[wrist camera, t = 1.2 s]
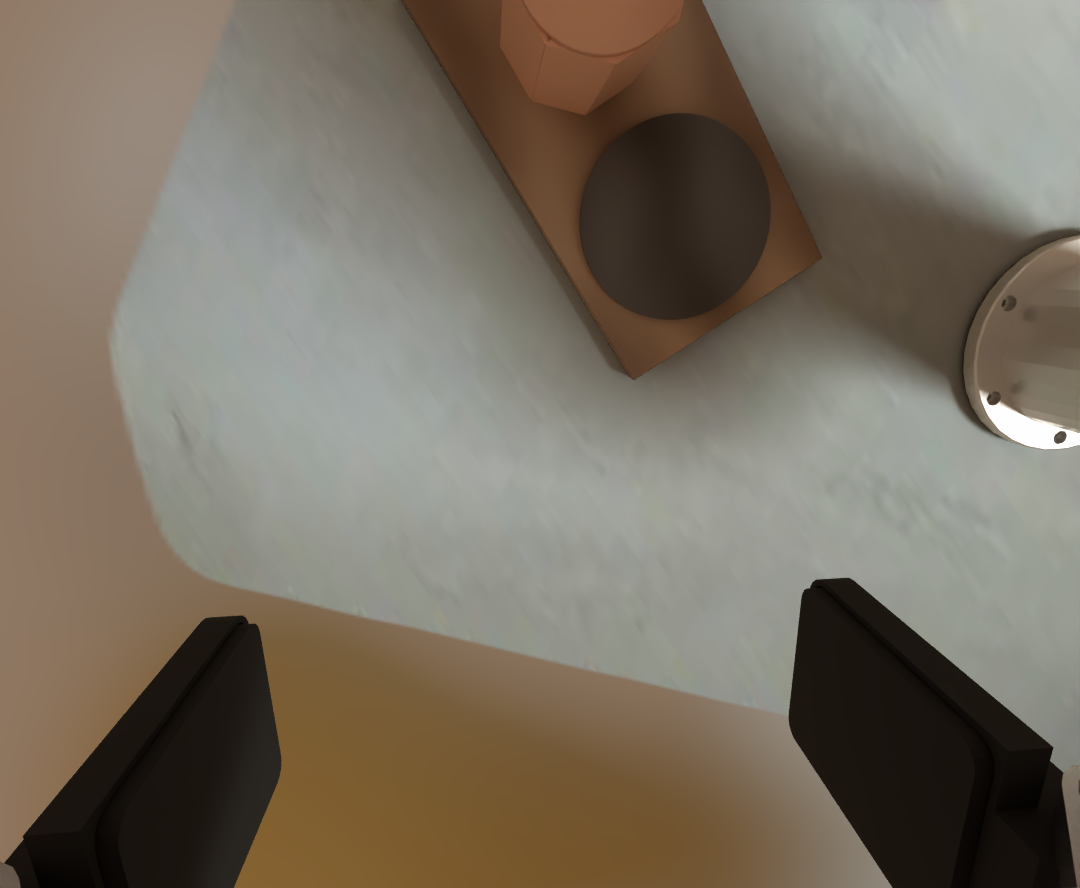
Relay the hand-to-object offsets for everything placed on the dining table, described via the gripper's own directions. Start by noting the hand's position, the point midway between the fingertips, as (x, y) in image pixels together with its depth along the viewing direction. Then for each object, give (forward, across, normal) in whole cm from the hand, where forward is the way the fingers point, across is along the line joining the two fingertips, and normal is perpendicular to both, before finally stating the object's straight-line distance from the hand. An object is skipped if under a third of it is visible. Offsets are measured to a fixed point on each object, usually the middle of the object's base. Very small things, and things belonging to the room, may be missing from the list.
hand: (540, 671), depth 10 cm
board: (+25, -6, -13) cm, 29 cm away
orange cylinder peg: (+24, -4, -18) cm, 30 cm away
